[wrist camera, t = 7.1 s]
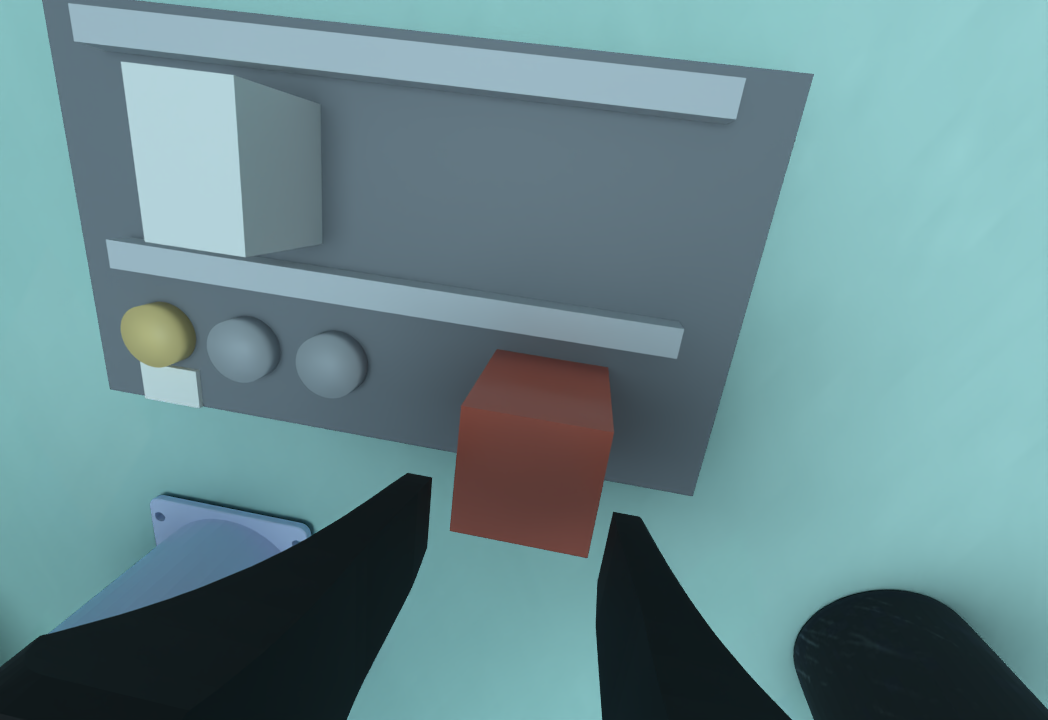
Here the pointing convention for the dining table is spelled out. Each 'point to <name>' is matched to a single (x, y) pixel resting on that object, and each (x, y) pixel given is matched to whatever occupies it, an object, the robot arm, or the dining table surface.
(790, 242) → the dining table surface
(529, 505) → the block
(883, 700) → the travel mug
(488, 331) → the panel
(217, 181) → the lever
